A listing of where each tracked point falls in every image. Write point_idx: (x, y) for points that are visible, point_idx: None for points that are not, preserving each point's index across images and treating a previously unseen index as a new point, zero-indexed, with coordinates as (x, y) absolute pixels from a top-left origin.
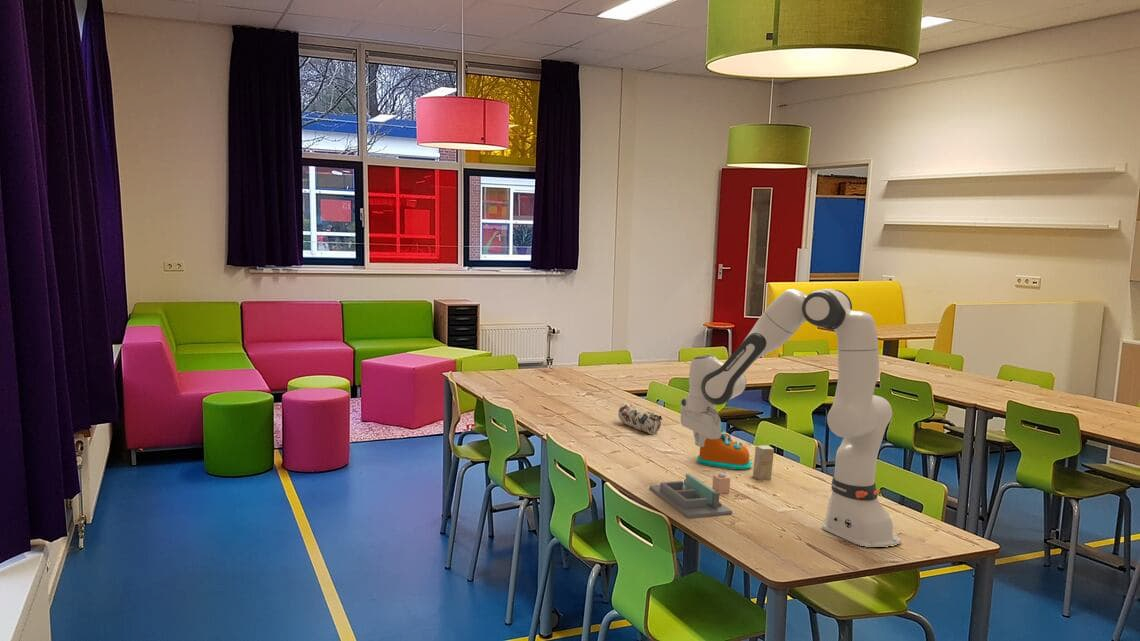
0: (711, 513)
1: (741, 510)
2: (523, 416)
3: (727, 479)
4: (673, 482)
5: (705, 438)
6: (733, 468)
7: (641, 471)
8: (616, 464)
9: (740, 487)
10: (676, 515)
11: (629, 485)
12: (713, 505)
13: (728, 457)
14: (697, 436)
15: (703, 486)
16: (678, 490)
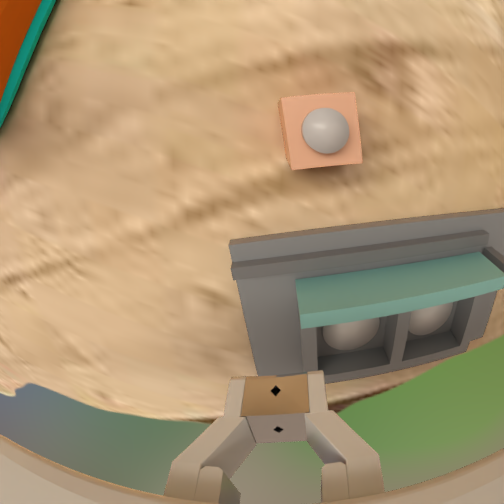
0: None
1: (495, 159)
2: None
3: (355, 110)
4: (313, 353)
5: (364, 446)
6: (50, 10)
7: (101, 342)
8: (69, 371)
9: (266, 18)
10: None
11: None
12: None
13: (13, 25)
14: (229, 461)
15: (452, 299)
16: (393, 356)
